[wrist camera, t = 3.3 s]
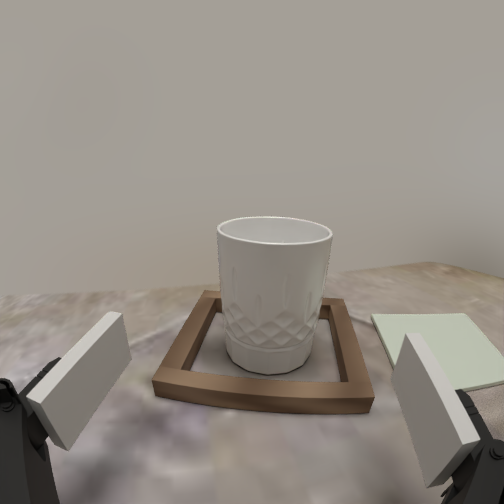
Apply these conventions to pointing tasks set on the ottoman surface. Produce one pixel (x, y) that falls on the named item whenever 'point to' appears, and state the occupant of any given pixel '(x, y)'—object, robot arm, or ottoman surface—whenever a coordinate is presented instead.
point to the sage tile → (446, 346)
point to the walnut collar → (260, 390)
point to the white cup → (271, 289)
